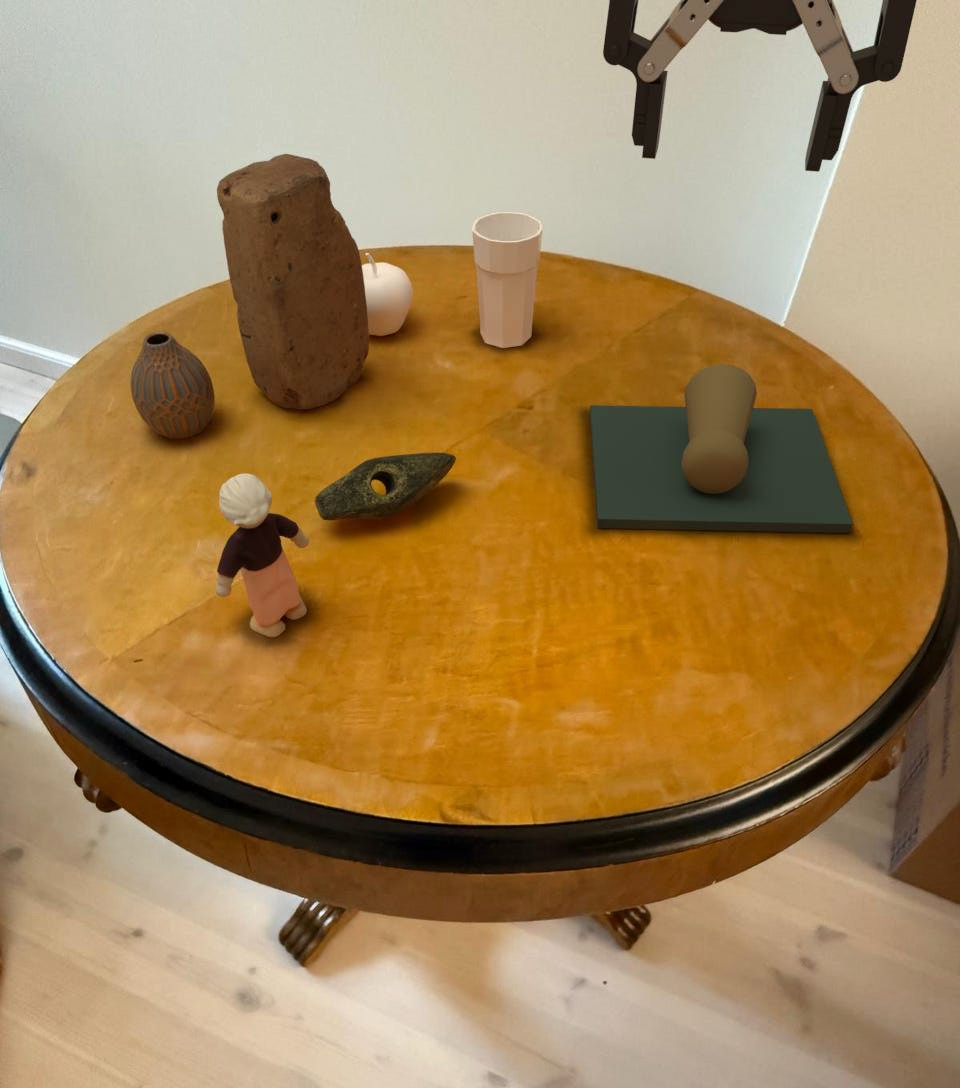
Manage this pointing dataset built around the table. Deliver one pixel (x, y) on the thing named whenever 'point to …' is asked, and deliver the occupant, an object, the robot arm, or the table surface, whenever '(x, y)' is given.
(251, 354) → the block
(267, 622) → the grandmother figurine
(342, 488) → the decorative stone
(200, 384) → the vase
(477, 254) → the cup
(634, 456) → the mat
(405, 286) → the plain white apple
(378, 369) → the table surface
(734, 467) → the cork
